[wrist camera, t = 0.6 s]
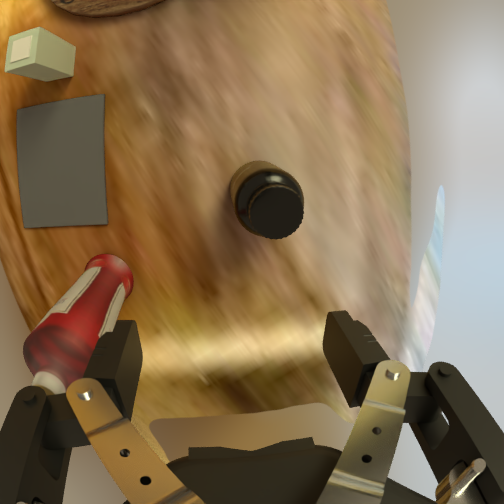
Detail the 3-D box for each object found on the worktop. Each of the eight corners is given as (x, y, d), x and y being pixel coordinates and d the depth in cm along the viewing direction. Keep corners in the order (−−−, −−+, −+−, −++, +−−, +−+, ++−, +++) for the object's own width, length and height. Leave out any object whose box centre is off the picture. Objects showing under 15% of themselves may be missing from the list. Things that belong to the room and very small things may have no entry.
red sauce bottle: (120, 308, 41) (57, 487, 15) (77, 278, 39) (-25, 436, 13) (147, 270, 40) (85, 459, 14) (102, 237, 37) (-20, 393, 12)
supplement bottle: (230, 159, 36) (239, 169, 25) (287, 161, 37) (320, 174, 26) (227, 215, 39) (235, 250, 28) (283, 217, 40) (312, 250, 29)
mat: (18, 109, 30) (17, 109, 29) (104, 94, 31) (103, 93, 31) (25, 227, 35) (24, 227, 35) (108, 223, 37) (107, 224, 37)
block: (49, 53, 28) (8, 36, 18) (76, 47, 28) (39, 26, 19) (46, 81, 29) (3, 71, 20) (73, 76, 30) (34, 62, 20)
